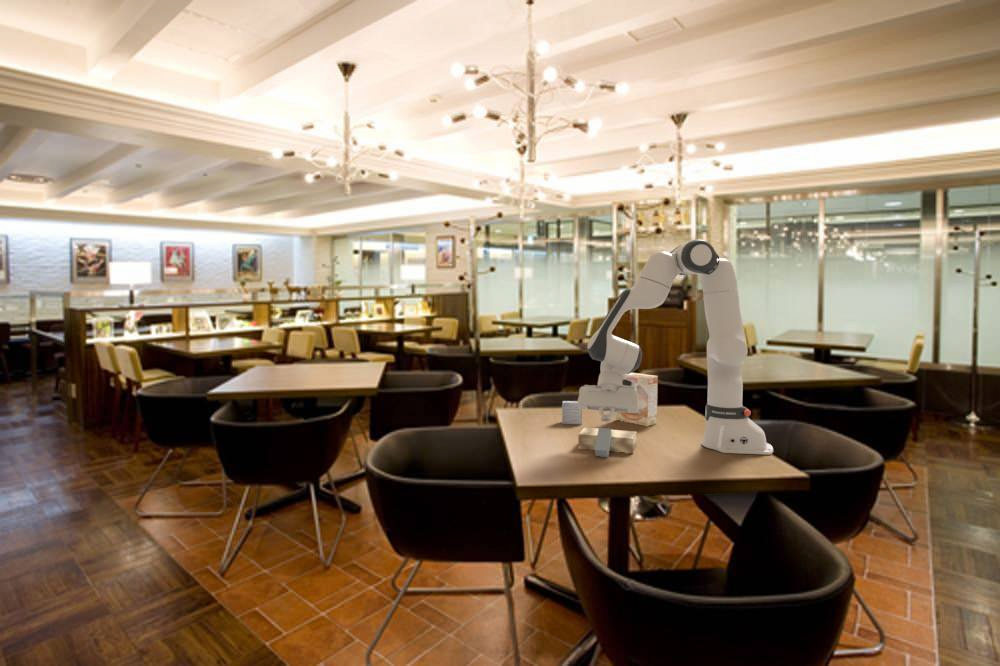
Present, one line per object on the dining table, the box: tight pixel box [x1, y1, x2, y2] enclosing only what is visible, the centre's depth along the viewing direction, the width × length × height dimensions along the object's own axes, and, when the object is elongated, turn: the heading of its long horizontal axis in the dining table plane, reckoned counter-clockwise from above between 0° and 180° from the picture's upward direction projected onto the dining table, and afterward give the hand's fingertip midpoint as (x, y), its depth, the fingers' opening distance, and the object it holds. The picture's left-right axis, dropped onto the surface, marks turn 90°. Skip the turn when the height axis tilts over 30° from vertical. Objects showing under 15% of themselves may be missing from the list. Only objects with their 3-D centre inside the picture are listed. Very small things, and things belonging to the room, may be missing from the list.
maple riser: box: [577, 427, 638, 454], centre depth 195 cm, size 18×10×5 cm, turn 71°
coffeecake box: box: [615, 372, 659, 427], centre depth 232 cm, size 15×7×20 cm, turn 43°
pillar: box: [594, 427, 612, 458], centre depth 186 cm, size 4×4×9 cm
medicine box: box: [561, 400, 583, 425], centre depth 230 cm, size 8×4×9 cm, turn 84°
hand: (605, 420), depth 189 cm, fingers closed
